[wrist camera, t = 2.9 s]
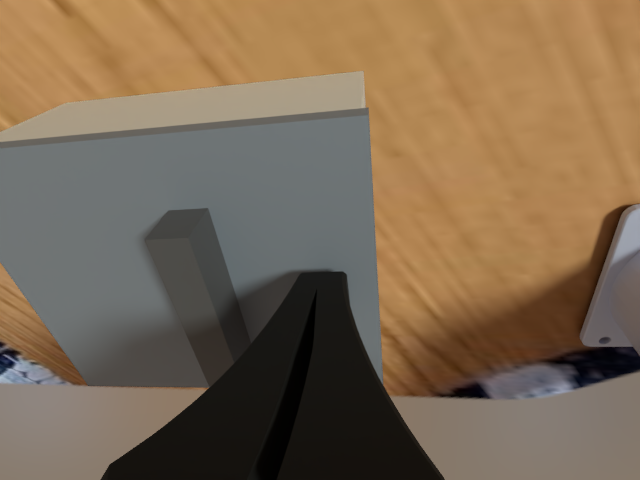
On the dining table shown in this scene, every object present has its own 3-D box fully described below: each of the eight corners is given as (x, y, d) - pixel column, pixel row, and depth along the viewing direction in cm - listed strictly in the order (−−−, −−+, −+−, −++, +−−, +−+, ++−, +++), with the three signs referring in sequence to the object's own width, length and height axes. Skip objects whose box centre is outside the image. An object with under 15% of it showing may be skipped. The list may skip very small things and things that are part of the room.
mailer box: (363, 70, 14) (361, 112, 10) (375, 284, 20) (377, 367, 16) (65, 102, 16) (-39, 149, 12) (153, 289, 22) (102, 365, 17)
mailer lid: (368, 107, 10) (368, 138, 8) (382, 376, 15) (384, 427, 14) (-57, 147, 12) (-131, 178, 10) (96, 373, 17) (66, 418, 16)
